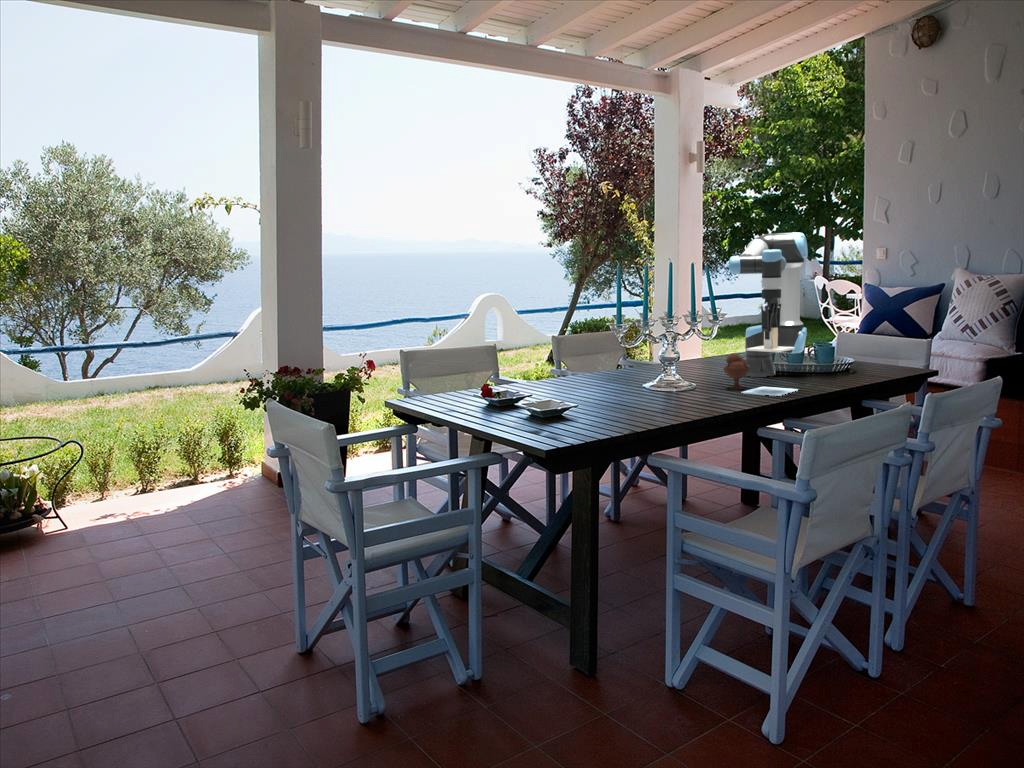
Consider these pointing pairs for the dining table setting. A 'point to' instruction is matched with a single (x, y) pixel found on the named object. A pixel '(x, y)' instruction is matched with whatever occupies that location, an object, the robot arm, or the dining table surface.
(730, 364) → the ice cream bowl
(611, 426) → the dining table surface
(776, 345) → the lid
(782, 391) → the mat
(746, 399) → the dining table surface
